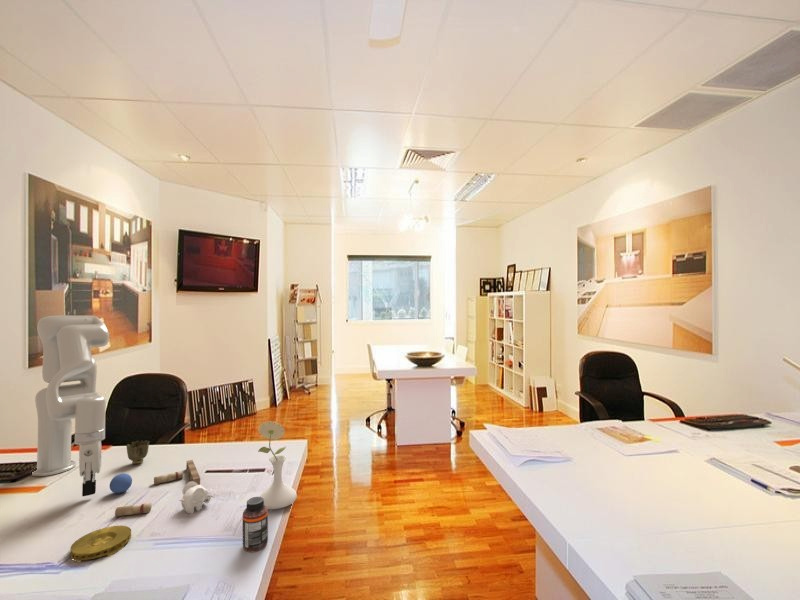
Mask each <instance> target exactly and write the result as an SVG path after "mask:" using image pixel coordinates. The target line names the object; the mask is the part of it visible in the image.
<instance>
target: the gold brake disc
mask: <svg viewBox="0 0 800 600" xmlns="http://www.w3.org/2000/svg"><path fill="white" fill-rule="evenodd" d="M131 538H132V529H131V527H129V526H127V525H111V526H107V527H103V528H100V529H96V530H93V531H91V532H89V533H86V534H85V535H83V536H81V537H79V538H78V539H77V540H76V541H74V542H73V543H72V544H71V546H70V552H69V553H70V554H69V555H71V556H70V559H71V558H72V559H74V560H76V561H75V562H77V561H82V560H83V561H86V560H89V561H90V560H93V559H97V558H98V559H99V558H102V557H103V556H106V557H108V556H111V555H113V554H115V553H117V552H119V551H121V550H122V549H123V548H125V545H126V544H128V543H129V542H130V540H131ZM72 559H71V560H72ZM83 561H82V562H83Z"/></svg>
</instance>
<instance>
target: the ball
mask: <svg viewBox="0 0 800 600" xmlns="http://www.w3.org/2000/svg"><path fill="white" fill-rule="evenodd" d="M132 483H133V478H132V475H130V474H128V473H126V472H125V473H124V472H123V473H122V472H121V473H119V474H117V475H115V476H114V477H112V479H111V480H110V482H109V489H110V491H111V492H112V493H114V494H123V493H124V492H126V491H128V490H129V489H130V488H131V486H132Z"/></svg>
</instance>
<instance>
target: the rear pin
mask: <svg viewBox="0 0 800 600" xmlns="http://www.w3.org/2000/svg"><path fill="white" fill-rule="evenodd" d="M183 474H184V473H183V470H181V471H176V472H172V473H167V474H163V475H159V476H155V477H153V485H154V486H155V485H158V484H159V485H160V484H163V483H168V482H172V481H177V480H180V479H183V477H184V476H183Z"/></svg>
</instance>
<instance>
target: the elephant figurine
mask: <svg viewBox="0 0 800 600" xmlns="http://www.w3.org/2000/svg"><path fill="white" fill-rule="evenodd" d="M182 495H183V496H182V498H181V499H178V502H180V503H181V507H182V509H183V510H184V511H185V512H186V513H187V514H188V513H190V514H193V513H194V511H195V510H196V511H197V510H198V511H200V509H201V510H202V508H203V504H208V503H210V501H211V498H215V496H214V495H211V493H210V492H209V491H208V490H207V488H205V487H204V486H203V485H201V484H200V485H198V484H197V483H196V482H194V481H191V480H190V481H188V482H187V483H186V484H185V486H184V487H183V489H182ZM192 512H193V513H192Z"/></svg>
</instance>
